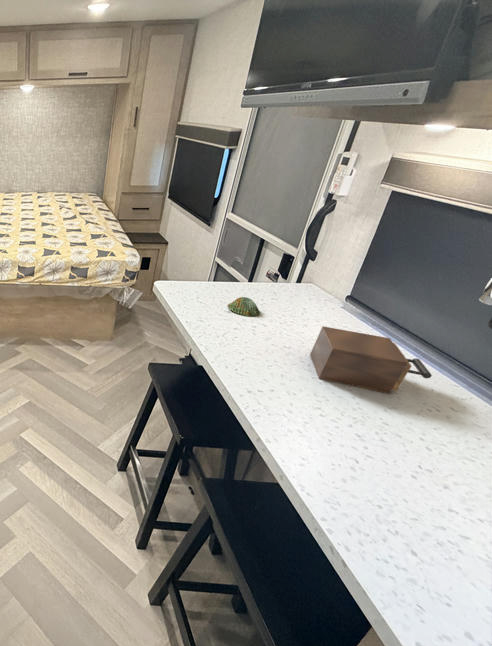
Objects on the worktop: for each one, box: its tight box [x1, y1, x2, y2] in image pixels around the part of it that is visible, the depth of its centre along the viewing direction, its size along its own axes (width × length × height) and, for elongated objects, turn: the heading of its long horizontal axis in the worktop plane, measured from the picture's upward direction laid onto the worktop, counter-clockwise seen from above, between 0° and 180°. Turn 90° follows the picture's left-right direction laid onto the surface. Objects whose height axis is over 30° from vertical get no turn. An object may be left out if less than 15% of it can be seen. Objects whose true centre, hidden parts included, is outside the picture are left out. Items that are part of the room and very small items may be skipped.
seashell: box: [227, 296, 261, 317], centre depth 140 cm, size 10×4×10 cm
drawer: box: [391, 342, 433, 392], centre depth 104 cm, size 19×11×8 cm, turn 63°
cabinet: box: [309, 326, 408, 395], centre depth 105 cm, size 15×13×10 cm
